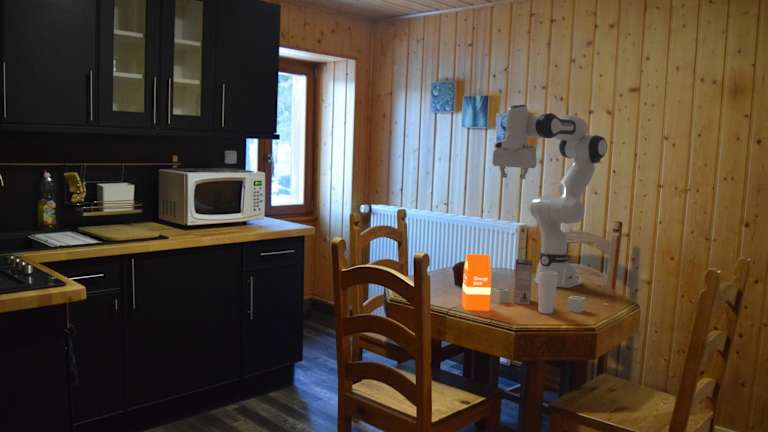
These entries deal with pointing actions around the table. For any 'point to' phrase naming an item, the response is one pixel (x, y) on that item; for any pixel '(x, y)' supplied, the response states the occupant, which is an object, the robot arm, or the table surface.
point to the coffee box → (522, 281)
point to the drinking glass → (546, 291)
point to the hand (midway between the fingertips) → (513, 178)
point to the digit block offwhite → (576, 304)
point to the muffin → (458, 273)
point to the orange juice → (476, 282)
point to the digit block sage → (500, 295)
